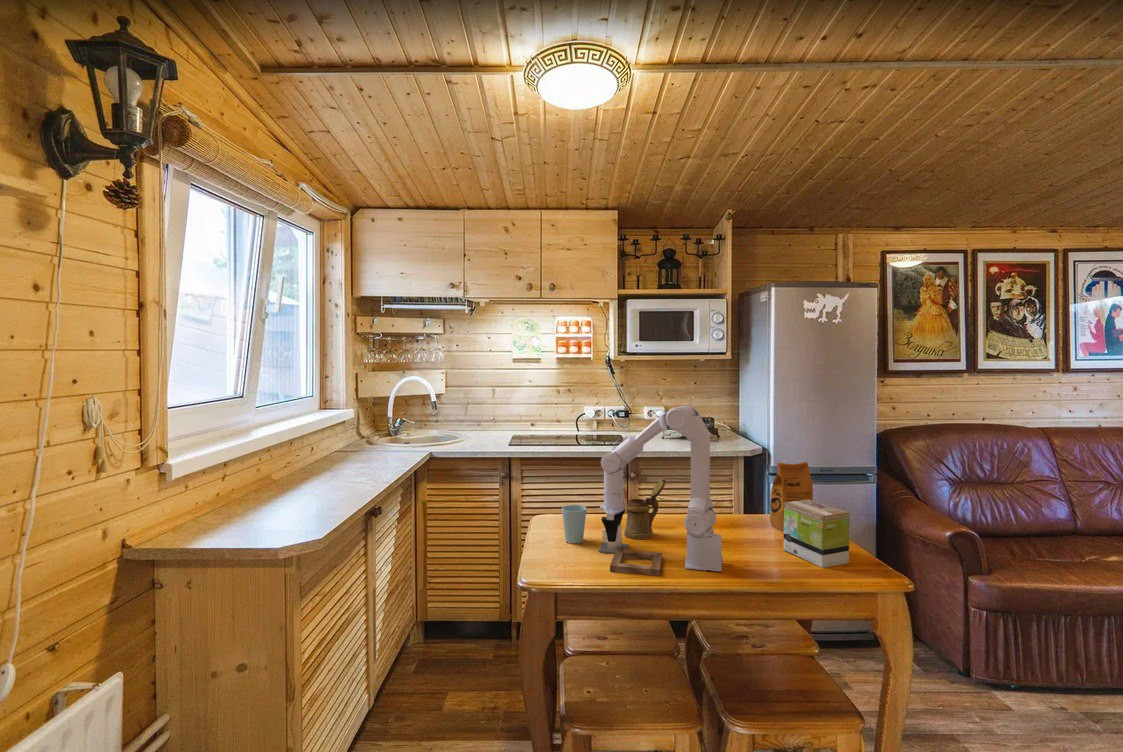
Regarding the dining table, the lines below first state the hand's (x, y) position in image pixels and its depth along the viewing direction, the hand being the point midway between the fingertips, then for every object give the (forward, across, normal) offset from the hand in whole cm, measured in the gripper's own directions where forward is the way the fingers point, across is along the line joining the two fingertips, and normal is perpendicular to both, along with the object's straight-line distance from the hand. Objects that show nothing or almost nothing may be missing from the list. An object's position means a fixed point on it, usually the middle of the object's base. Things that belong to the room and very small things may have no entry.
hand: (613, 537), depth 164 cm
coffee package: (+4, -34, +55) cm, 65 cm away
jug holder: (+3, +11, +8) cm, 14 cm away
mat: (+3, 0, 0) cm, 3 cm away
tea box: (+4, -6, +57) cm, 57 cm away
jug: (+3, 0, 0) cm, 3 cm away
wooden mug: (+4, -16, +8) cm, 18 cm away
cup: (+4, -4, -13) cm, 14 cm away
